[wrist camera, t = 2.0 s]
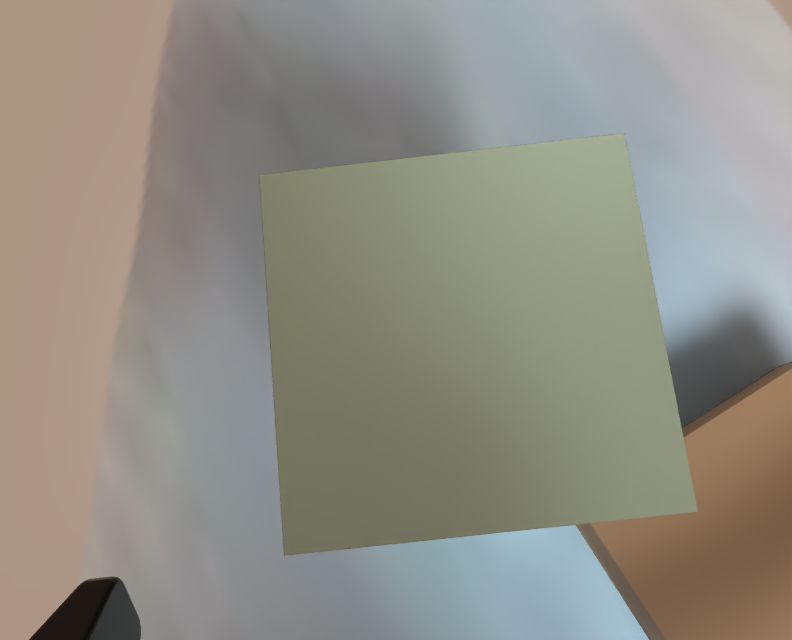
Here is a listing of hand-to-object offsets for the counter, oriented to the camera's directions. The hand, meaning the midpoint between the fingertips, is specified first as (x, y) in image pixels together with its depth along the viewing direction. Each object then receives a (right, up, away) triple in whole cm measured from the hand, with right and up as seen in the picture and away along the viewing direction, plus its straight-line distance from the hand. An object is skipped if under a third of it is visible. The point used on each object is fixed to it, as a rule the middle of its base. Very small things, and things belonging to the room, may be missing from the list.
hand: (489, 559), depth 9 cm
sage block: (0, 0, +11) cm, 11 cm away
